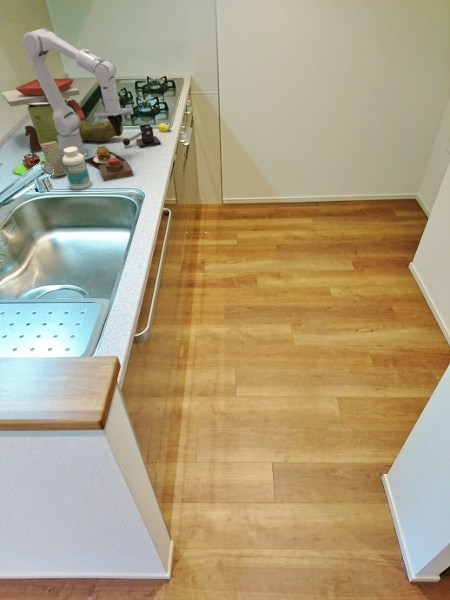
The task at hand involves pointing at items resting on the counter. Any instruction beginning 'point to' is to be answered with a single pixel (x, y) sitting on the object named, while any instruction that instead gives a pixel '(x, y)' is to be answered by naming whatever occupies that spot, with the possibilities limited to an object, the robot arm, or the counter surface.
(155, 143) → the bracket
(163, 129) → the light bulb
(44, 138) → the protein box
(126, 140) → the lever
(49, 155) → the carving
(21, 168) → the brown lump green base
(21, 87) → the plant saucer
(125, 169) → the button block
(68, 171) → the pill bottle
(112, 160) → the button
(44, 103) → the plate
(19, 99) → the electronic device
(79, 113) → the decorative object
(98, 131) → the stone tool
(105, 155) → the hamburger
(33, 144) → the chess piece
